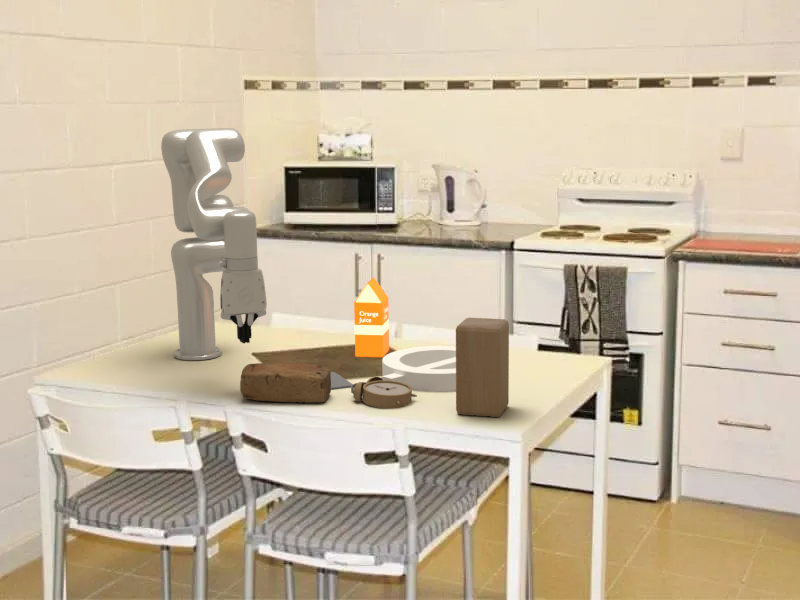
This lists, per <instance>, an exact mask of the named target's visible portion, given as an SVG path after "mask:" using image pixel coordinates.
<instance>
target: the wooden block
mask: <svg viewBox="0 0 800 600" xmlns="http://www.w3.org/2000/svg"><path fill="white" fill-rule="evenodd" d="M509 344H510V323H509V321H508V320H507V319H503V318H487V317H486V318H485V317H483V318H482V317H467V318H465V319H463V320H462V322H460V323H459V324H458V325H457V326H456V328H455V347H456V391H455V411H456V414H458V415H460V414H462V416H473V415H476V416H475V417H487V416H490V418H498V416H499V417H501V416H502V414H503V413H504V411H505V409H506V408H508V405H509V403H510V402H509V401H510V400H509V398H510V397H509V396H510V395H509V389H510V388H509V386H510V383H509V378H510V376H509V373H510V372H509V371H510V369H509V366H510V365H509V364H510V361H509V360H510V357H509V356H510V355H509V354H510V352H509V351H510V347H509V346H510V345H509Z"/></svg>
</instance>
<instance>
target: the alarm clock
mask: <svg viewBox="0 0 800 600" xmlns="http://www.w3.org/2000/svg"><path fill="white" fill-rule="evenodd" d="M352 384H353V385H352V386H351V387H350V390H351V391H350V392H351V394H352V395H353V399H354V400H355V402H357V403H361V401H363V403H364V404H366V405H368V406H369V407H373V408H378V409H396V408H398V409H399V408H402V407H406V406H409V405H410V404H411V403H412V398H416V397H418V395H417V394H414V393H412V392H413V390H412V388H411V386H409V385H407V384H405V383H402V382H397V381H388V380H383V379H382V377H380V376H372V377H369V379H368V380H367V381H366V382H363V381H359V382H356V383H352Z"/></svg>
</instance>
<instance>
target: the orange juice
mask: <svg viewBox="0 0 800 600" xmlns="http://www.w3.org/2000/svg"><path fill="white" fill-rule="evenodd" d="M353 307H354V308H353V309H354V313H353V314H354V315H353V316H354V346H355V347H354V349H355V350H354V357H361V358H365V357H366V358H367V357H368V358H383V357H384V356H386V355H387V353H389V351H390V319H389V318H390V317H389V315H390V314H389V296H388V295H387V294H386V292H385V291H384V289H383V288H382V287H381V285H380V283H379V282H378V281H377V279H376V278H375V276H373V277H372V278H371V279H370V280H369V281H368V282H366V285H365V286H364V287H363V288H362V290H361V292H360V293H359V295H358V296H357V298H356V299H355V301H354V302H353Z"/></svg>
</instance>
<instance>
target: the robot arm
mask: <svg viewBox="0 0 800 600" xmlns="http://www.w3.org/2000/svg"><path fill="white" fill-rule="evenodd" d="M160 145H161V146H160V148H161V149H160V150H161V156H162V160H163V162H164V166H165V168H166V170H167V172H168V173H167V174H168V175H169V179H170V184H171V194H172V195H171V196H172V209H173V220H174V224H175V227H176V228H177V230H178V232H182V233H190V234H191V233H194V234H195V236H196V237H188V238H187V237H185V238H183V239H179V240H177V241H175V243H173V245H172V246H171V250H170V257H171V258H170V259H171V262H172V268H173V272H174V277H175V278H174V280H175V284H176V285H175V287H176V302H177V303H176V304H177V320H178V321H177V323H178V325H177V326H178V342H179V343H178V344H179V348H178V349H176V350H175V351H174V352H173V356H174V358H175V359H178V360H183V361H203V360H210V359H215V358H218V357H220V356H222V353H223V351H222V350H223V349H222V348H221V347H218V346H216V344H217V343H216V342H217V341H216V327H215V326H216V325H215V304H214V303H215V302H214V301H215V300H214V299H215V298H214V290H213V287H212V285H211V284H210V283H209V282H208V280H206V278H205V277H204V276H203V275H204V274H210V273H220V272H221V278H220V281H221V282H220V295H219V296H220V298H219V299H220V300H219V301H220V302H219V304H220V310H221V312H220V318H221V319H222V320H227V321H232V323H234V324H235V325H236V333H237V337H236V338H237V340H239V342H240V343H242V344H246V343H247V344H250V342H251V341H250V339H252V326H253V324H254V322H255V321H256V320H257V319H258V318H261V317H263V316H266V315H267V311H266V310H267V306H268V305H267V296H266V295H267V293H266V292H267V291H266V286H265V279H264V275H263V271H262V269H261V268H259V260H258V259H259V257H258V233H257V231H258V230H257V216H256V214H255V213H254V212H253V211H251V210H249V209H248V208H247V207H245V206H234V203H233V201H232V199H231V198H230V197H229V196H227V195H225V194H219V193H221V192H223V191H224V190H226V189H227V187H228V186H229V185H230V184H231V182H232V177H233V176H232V173H231V169H230V167H229V164H228V163H237V162H240V161H242V160H243V158H244V156H245V152H246V146H245V141H244V138H243V135H242V134H241V133H240V132H239V130H237V129H236V128H230V127H229V128H225V127H224V128H220V127H219V128H189V129H188V128H185V129H184V128H183V129H176V130H171V131H168V132H167V133H165V134H164V135H163V137H162V139H161V144H160ZM242 315H245V316H244V322H243V318H242Z"/></svg>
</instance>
